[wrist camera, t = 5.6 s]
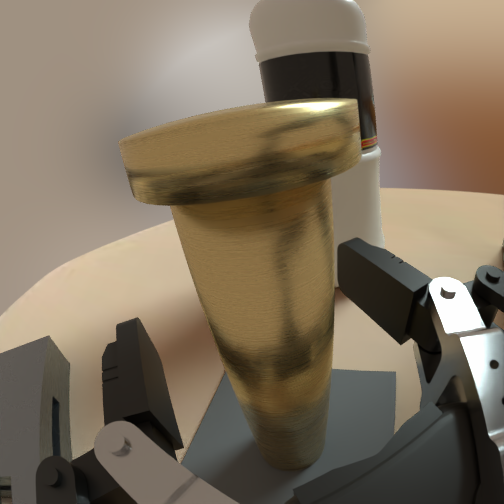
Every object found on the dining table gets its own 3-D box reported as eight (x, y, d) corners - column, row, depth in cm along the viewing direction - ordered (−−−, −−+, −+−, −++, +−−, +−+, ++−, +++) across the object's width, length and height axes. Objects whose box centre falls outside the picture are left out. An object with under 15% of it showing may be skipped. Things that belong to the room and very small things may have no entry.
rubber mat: (233, 360, 18) (232, 357, 18) (394, 375, 14) (395, 371, 14) (166, 499, 10) (163, 497, 10) (374, 542, 6) (375, 542, 6)
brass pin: (262, 401, 14) (191, 115, 7) (343, 411, 13) (354, 96, 6) (235, 471, 11) (68, 160, 4) (327, 488, 9) (364, 108, 2)
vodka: (295, 305, 22) (226, -101, 7) (272, 246, 30) (219, -47, 15) (402, 276, 22) (360, -90, 7) (356, 229, 30) (319, -49, 15)
